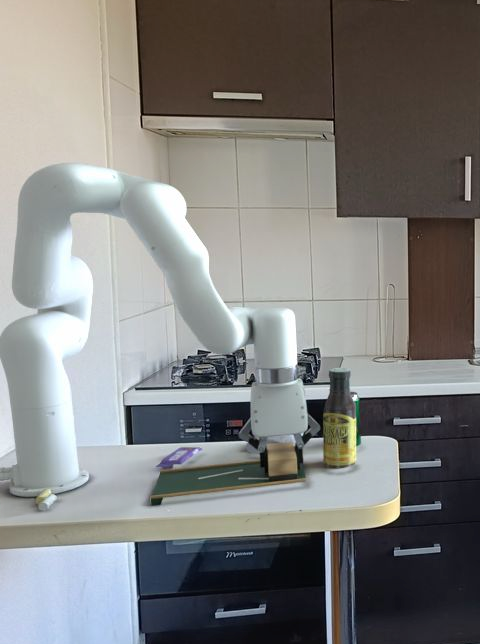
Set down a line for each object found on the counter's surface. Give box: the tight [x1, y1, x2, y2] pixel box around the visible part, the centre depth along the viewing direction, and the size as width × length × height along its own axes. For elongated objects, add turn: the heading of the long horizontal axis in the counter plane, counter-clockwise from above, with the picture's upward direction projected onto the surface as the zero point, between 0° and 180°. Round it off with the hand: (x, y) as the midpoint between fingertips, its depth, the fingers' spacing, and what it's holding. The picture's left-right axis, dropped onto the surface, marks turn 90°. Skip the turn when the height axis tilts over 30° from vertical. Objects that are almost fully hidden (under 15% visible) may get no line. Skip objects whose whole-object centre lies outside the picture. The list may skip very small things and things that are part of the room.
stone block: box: [245, 432, 305, 454], centre depth 158 cm, size 12×5×10 cm
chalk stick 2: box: [37, 494, 58, 512], centre depth 128 cm, size 2×4×2 cm
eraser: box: [267, 442, 297, 482], centre depth 141 cm, size 5×10×4 cm, turn 18°
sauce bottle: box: [322, 367, 357, 469], centre depth 144 cm, size 6×6×20 cm
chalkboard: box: [149, 459, 308, 506], centre depth 139 cm, size 26×14×2 cm, turn 108°
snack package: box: [155, 446, 203, 469], centre depth 151 cm, size 12×2×5 cm
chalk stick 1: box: [35, 489, 52, 505], centre depth 131 cm, size 2×4×2 cm
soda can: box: [350, 391, 362, 447], centre depth 157 cm, size 5×5×12 cm
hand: (282, 468), depth 141 cm, fingers closed on eraser, 5 cm apart
